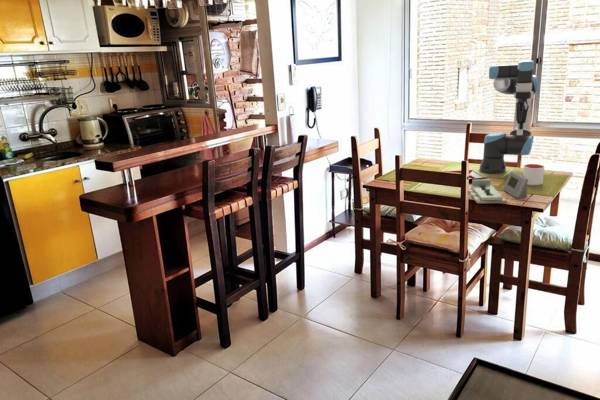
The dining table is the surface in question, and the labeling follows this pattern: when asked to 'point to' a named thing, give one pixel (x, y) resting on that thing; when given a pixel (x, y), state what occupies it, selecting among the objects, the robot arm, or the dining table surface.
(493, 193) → the panel
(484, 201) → the board
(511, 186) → the digital clock
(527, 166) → the cup
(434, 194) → the dining table surface
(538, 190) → the dining table surface
